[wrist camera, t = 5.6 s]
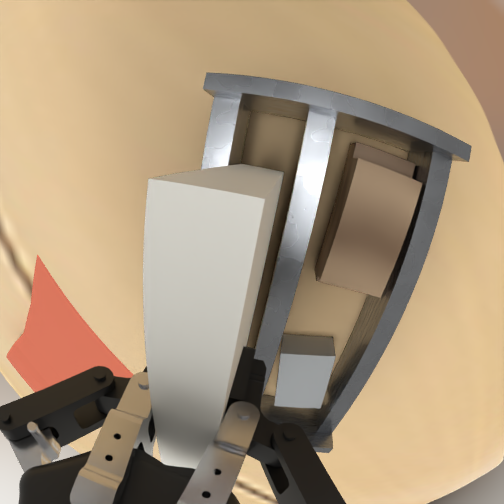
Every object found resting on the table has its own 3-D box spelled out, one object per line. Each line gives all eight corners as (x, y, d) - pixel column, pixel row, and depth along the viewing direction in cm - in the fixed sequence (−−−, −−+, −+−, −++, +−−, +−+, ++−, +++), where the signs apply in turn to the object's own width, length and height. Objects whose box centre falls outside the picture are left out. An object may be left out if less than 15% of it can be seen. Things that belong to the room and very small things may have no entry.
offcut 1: (282, 332, 24) (280, 353, 21) (332, 335, 23) (335, 356, 20) (276, 384, 26) (274, 405, 23) (319, 387, 25) (320, 408, 23)
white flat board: (242, 163, 16) (148, 178, 5) (284, 171, 15) (265, 198, 5) (208, 381, 22) (167, 486, 12) (236, 388, 22) (204, 498, 12)
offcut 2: (349, 143, 18) (356, 142, 16) (402, 163, 18) (415, 164, 15) (314, 267, 22) (316, 280, 19) (364, 280, 21) (372, 294, 19)
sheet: (84, 418, 38) (2, 323, 34) (179, 371, 32) (57, 222, 27) (72, 436, 33) (-15, 336, 28) (167, 399, 26) (28, 231, 22)
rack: (231, 95, 18) (206, 72, 12) (428, 146, 16) (471, 146, 11) (192, 382, 27) (174, 422, 22) (327, 410, 26) (328, 452, 21)
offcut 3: (351, 157, 16) (358, 158, 14) (410, 180, 16) (422, 183, 14) (317, 269, 19) (319, 281, 17) (373, 284, 19) (380, 297, 17)
